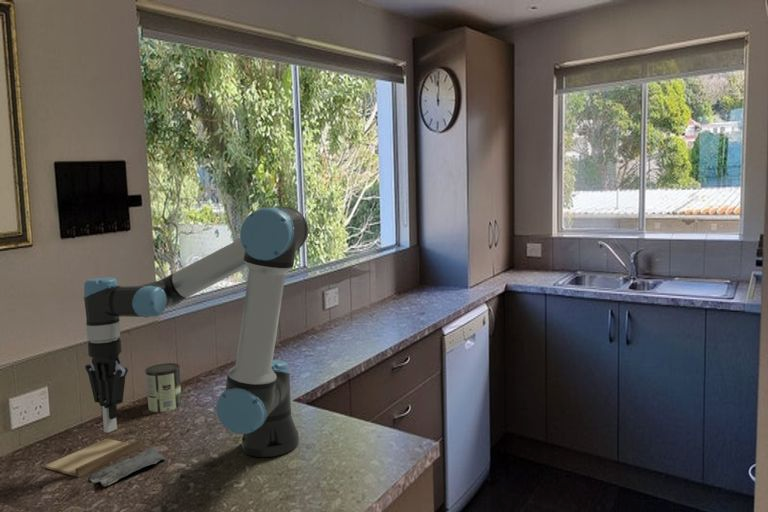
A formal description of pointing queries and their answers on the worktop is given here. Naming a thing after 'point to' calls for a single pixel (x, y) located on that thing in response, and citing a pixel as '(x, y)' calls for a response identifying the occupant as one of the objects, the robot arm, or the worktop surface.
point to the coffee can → (163, 387)
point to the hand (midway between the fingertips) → (110, 430)
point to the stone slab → (126, 467)
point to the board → (92, 457)
